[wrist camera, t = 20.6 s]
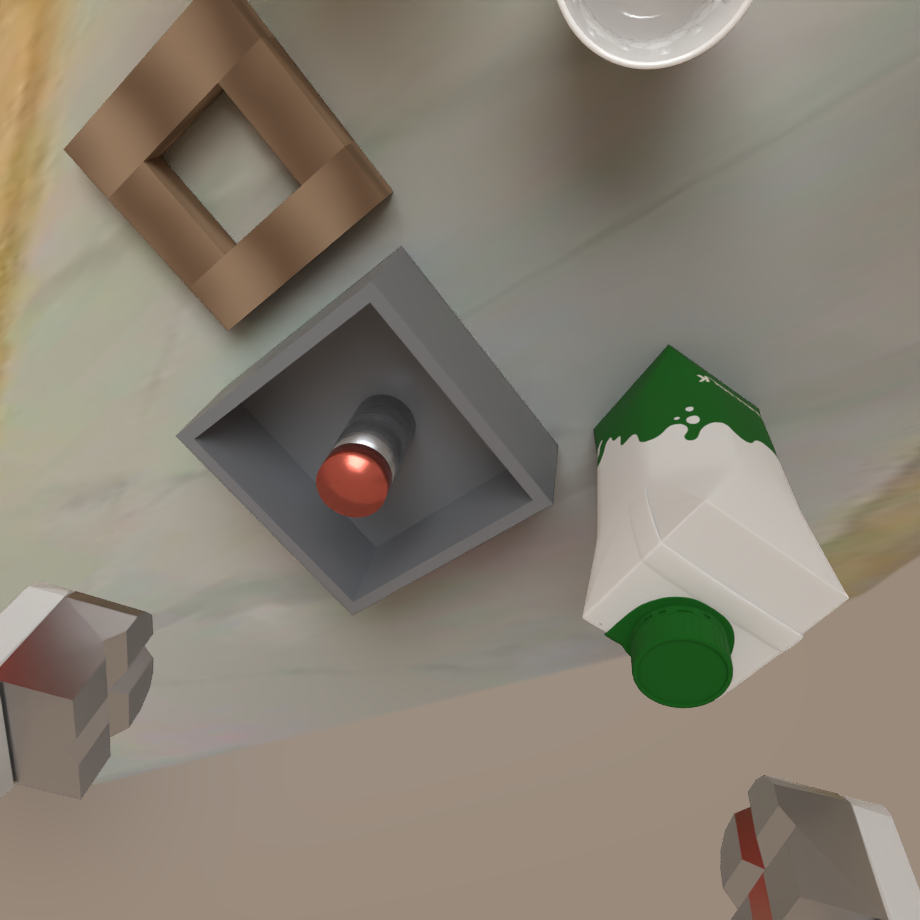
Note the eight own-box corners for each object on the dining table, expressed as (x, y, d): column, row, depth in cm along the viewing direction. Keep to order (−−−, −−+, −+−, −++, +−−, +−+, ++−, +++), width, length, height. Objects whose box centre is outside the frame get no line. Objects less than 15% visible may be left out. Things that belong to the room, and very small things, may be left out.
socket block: (230, -21, 40) (213, -23, 38) (393, 191, 43) (384, 198, 42) (83, 144, 45) (63, 149, 43) (241, 319, 49) (228, 330, 47)
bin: (401, 245, 45) (371, 280, 39) (558, 445, 50) (552, 503, 44) (224, 387, 51) (175, 435, 45) (378, 551, 56) (352, 615, 50)
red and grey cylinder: (420, 403, 49) (391, 466, 42) (409, 456, 51) (380, 525, 44) (359, 387, 49) (320, 448, 42) (351, 441, 51) (312, 507, 44)
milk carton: (572, 431, 49) (560, 652, 32) (668, 320, 45) (713, 508, 28) (680, 504, 50) (724, 754, 33) (784, 404, 46) (895, 632, 29)
